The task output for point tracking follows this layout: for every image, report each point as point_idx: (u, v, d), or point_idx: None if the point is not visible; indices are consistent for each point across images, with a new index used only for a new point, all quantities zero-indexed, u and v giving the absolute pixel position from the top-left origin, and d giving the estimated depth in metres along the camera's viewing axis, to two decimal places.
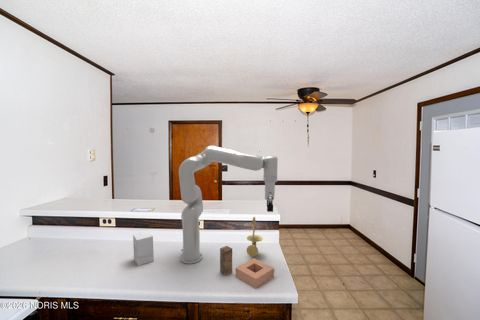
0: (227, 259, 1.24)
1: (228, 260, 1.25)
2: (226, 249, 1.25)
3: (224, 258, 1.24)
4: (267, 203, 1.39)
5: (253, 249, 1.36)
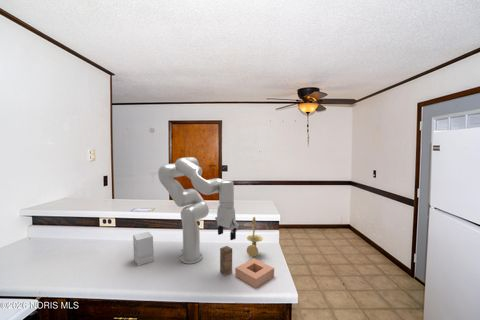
0: (227, 259, 1.24)
1: (228, 260, 1.25)
2: (226, 249, 1.25)
3: (224, 258, 1.24)
4: (219, 231, 1.27)
5: (253, 249, 1.36)
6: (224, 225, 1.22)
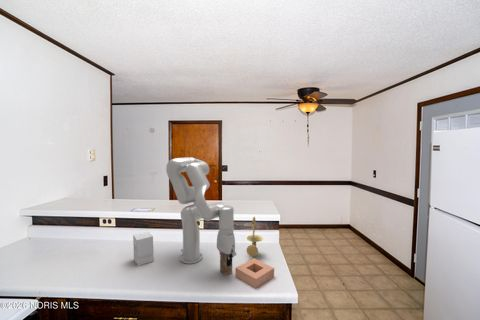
0: None
1: None
2: None
3: (224, 258, 1.24)
4: None
5: (253, 249, 1.36)
6: (224, 251, 1.23)
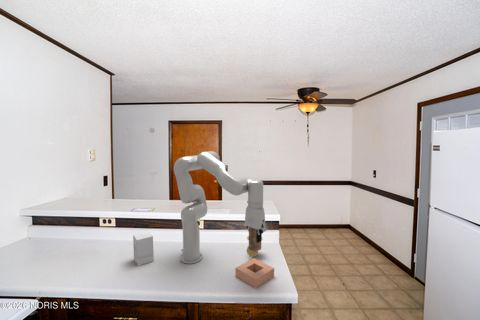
0: None
1: None
2: None
3: (253, 233, 1.19)
4: None
5: None
6: (253, 226, 1.18)
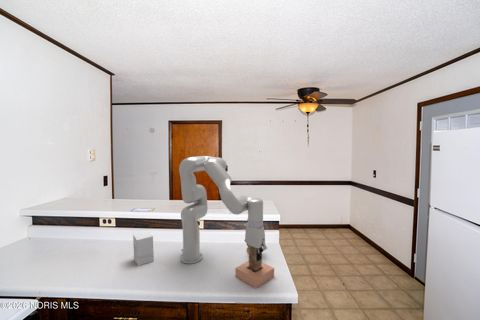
0: None
1: None
2: None
3: (254, 252, 1.20)
4: None
5: None
6: (254, 245, 1.19)
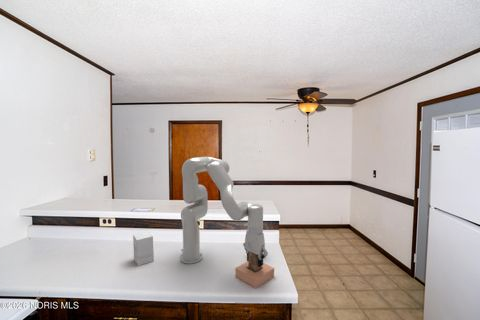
0: (256, 262, 1.20)
1: (257, 263, 1.21)
2: None
3: (253, 261, 1.20)
4: (248, 258, 1.24)
5: None
6: (253, 251, 1.19)
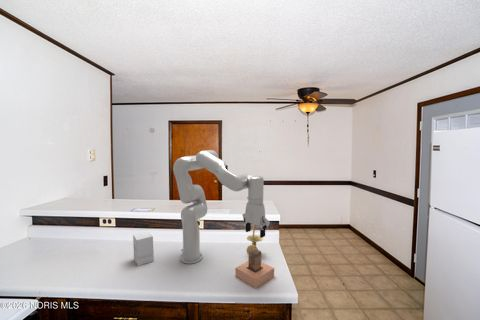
0: (256, 262, 1.20)
1: (257, 263, 1.21)
2: (255, 252, 1.21)
3: (253, 261, 1.20)
4: (247, 228, 1.24)
5: None
6: (254, 222, 1.18)
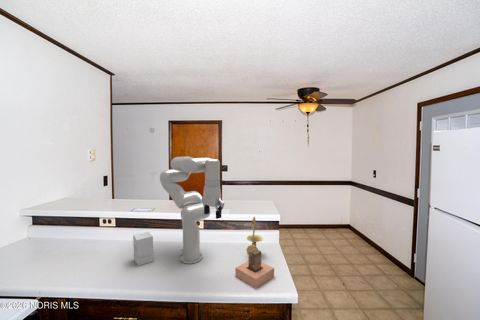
0: (256, 262, 1.20)
1: (257, 263, 1.21)
2: (255, 252, 1.21)
3: (253, 261, 1.20)
4: (205, 210, 1.27)
5: None
6: (210, 204, 1.21)
